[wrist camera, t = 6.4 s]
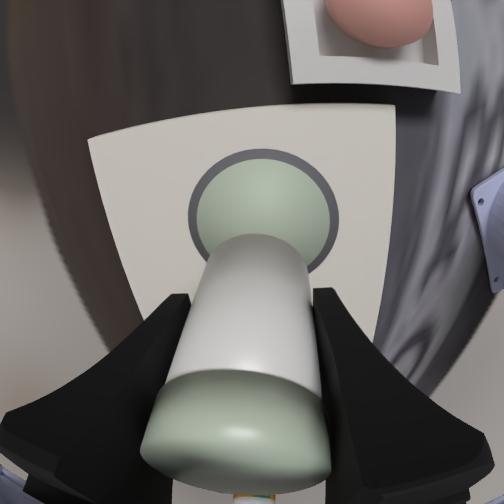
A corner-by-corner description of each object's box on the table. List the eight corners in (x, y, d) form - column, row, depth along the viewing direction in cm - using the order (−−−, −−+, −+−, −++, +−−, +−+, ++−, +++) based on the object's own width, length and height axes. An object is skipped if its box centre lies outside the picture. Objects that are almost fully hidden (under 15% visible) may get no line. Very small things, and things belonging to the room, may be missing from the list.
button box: (436, 90, 12) (460, 93, 10) (290, 84, 13) (293, 83, 11) (418, -37, 8) (437, -50, 6) (272, -50, 9) (271, -70, 7)
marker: (330, 292, 12) (358, 478, 5) (245, 333, 13) (223, 498, 7) (270, 209, 10) (256, 418, 4) (180, 266, 12) (105, 443, 5)
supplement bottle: (238, 464, 36) (231, 522, 28) (236, 451, 33) (228, 516, 25) (275, 466, 36) (272, 524, 28) (278, 454, 33) (275, 519, 25)
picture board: (361, 369, 23) (363, 380, 22) (174, 373, 25) (171, 383, 24) (388, 103, 13) (396, 105, 12) (96, 136, 15) (86, 140, 14)
